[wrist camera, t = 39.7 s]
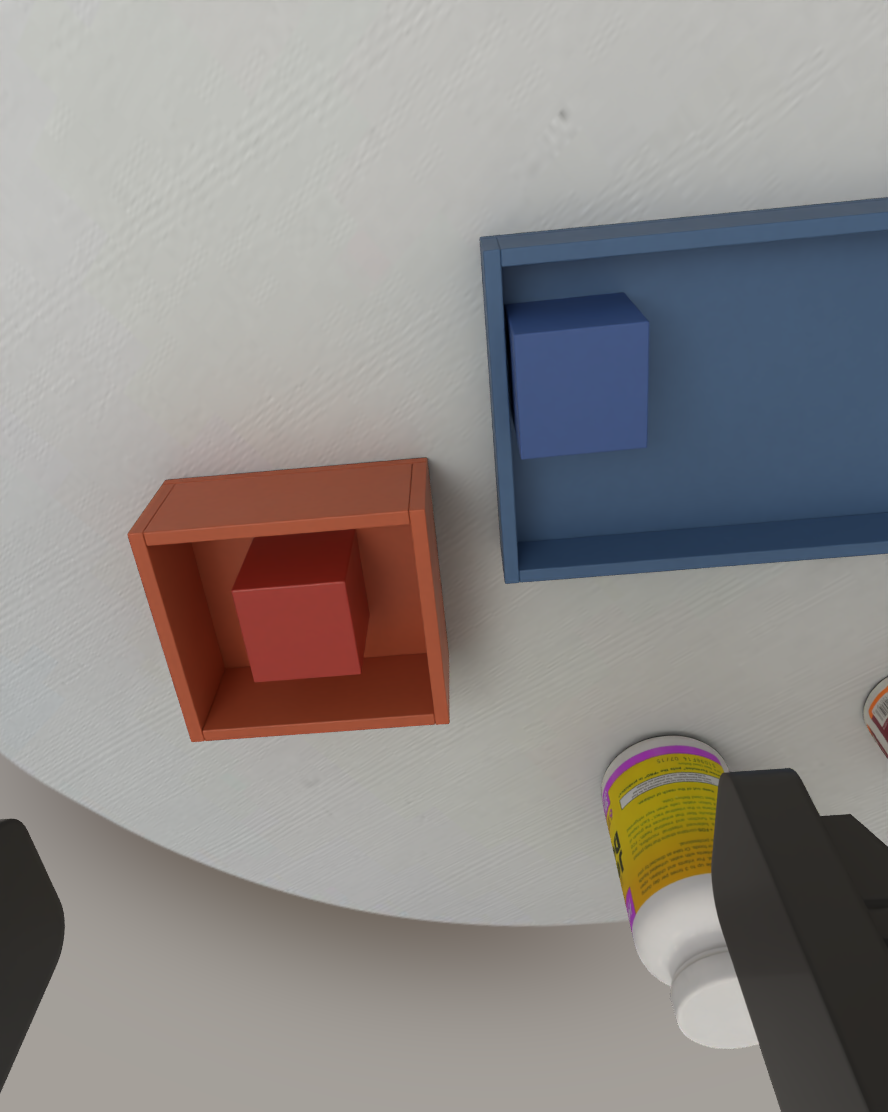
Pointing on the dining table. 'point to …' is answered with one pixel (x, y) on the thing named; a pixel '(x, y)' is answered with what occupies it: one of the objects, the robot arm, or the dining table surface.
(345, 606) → the red block
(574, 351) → the blue block
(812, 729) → the dining table surface
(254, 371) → the dining table surface
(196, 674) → the orange bin
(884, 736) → the pill bottle
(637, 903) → the supplement bottle
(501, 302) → the blue tray
